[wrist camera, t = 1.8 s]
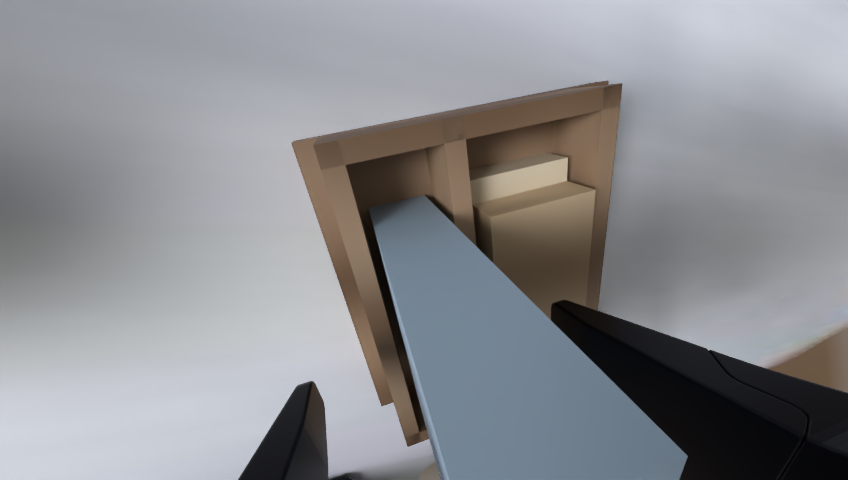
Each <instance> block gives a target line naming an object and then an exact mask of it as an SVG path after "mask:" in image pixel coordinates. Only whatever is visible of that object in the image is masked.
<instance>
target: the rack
mask: <svg viewBox="0 0 848 480" xmlns="http://www.w3.org/2000/svg"><path fill="white" fill-rule="evenodd" d="M621 90H622V84H612V85H608V81H603V82H595V83H589V84H584V85H579V86H574V87H569V88H564V89H559V90H554V91H548V92H543V93H538V94H533V95H528V96H523V97H518V98H512V99H507V100H502V101H497V102H492V103H487V104H482V105H477V106H471V107H466V108H461V109H456V110H451V111H446V112H441V113H436V114H430V115H425V116H420V117H415V118H410V119H405V120H400V121H394V122H389V123H384V124H379V125H374V126H369V127H364V128H359V129H353V130H348V131H343V132H338V133H333V134H328V135H323V136H318V137H312V138H307V139H302V140H297V141H293V142H292V146H293V149H294V152H295V155H296V158H297V161H298V164H299V167H300V169H301V172H302V175H303V178H304V181H305V184H306V187H307V190H308V193H309V196H310V199H311V202H312V204H313V207H314V210H315V213H316V216H317V219H318V222H319V225H320V228H321V231H322V234H323V237H324V239H325V242H326V245H327V248H328V251H329V254H330V257H331V260H332V263H333V266H334V269H335V272H336V274H337V277H338V280H339V283H340V286H341V289H342V292H343V295H344V298H345V301H346V304H347V307H348V309H349V312H350V315H351V318H352V321H353V324H354V327H355V330H356V333H357V336H358V339H359V342H360V344H361V347H362V350H363V353H364V356H365V359H366V362H367V365H368V368H369V371H370V374H371V377H372V379H373V382H374V385H375V388H376V391H377V394H378V397H379V400H380V403H381V406H384V405H387V404H390V403H392V402H394V405H395V408H396V411H397V414H398V417H399V421H400V424H401V427H402V430H403V433H404V437H405V440H406V443H407V446H408V447H409V446H411V445H414V444H416V443H419V442H422V441H424V440H427V439H429V436H428V432H427V428H426V425H425V421H424V417H423V414H422V410H421V406H420V403H419V399H418V396H417V392H416V388H415V385H414V381H413V377H412V374H411V370H410V366H409V363H408V359H407V356H406V352H405V348H404V344H403V340H402V336H401V332H400V329H399V325H398V321H397V317H396V313H395V309H394V305H393V302H392V298H391V294H390V290H389V286H388V282H387V279H386V275H385V271H384V267H383V263H382V259H381V255H380V252H379V248H378V244H377V240H376V236H375V232H374V228H373V225H372V221H371V217H370V213H369V209H368V208H371V207H375V206H379V205H383V204H388V203H392V202H396V201H400V200H404V199H408V198H413V197H417V196H421V195H425V196H426V197H427V198H428V199H429V200H430V201H431V202H432V203H433V204H434V205H435V206H436V207H437V208H438V209H439V210H440V211H441V212H442V213H443V214H444V215H445V216H446V217H447V218H448V219H449V220H450V221H451V222H452V223H453V224H454V225H455V226H456V227H457V228H458V229H459V230H460V231H461V232H462V233H463V234H464V235H465V236H466V237H467V238H468V239H469V240H470V241H471V242H472V243H473V244H474V245H475V246H476V237H475V227H474V217H473V206H472V196H471V186H470V176H469V170H471V169H476V168H480V167H484V166H489V165H493V164H497V163H502V162H506V161H510V160H514V159H519V158H523V157H527V156H532V155H536V154H540V153H549V154H553V155H558V156H563V157H568V169H567V181H569V182H572V183H575V184H579V185H582V186H585V187H588V188H591V189H595V190H596V193H595V204H594V216H593V228H592V239H591V251H590V262H589V274H588V286H587V297H586V307H588V308H591V309H594V310H597V311H598V303H599V294H600V284H601V275H602V266H603V257H604V247H605V238H606V229H607V220H608V210H609V201H610V192H611V183H612V174H613V164H614V155H615V146H616V137H617V127H618V118H619V109H620V100H621Z"/></svg>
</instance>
